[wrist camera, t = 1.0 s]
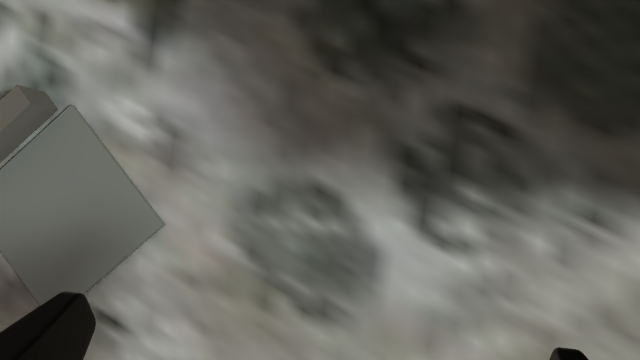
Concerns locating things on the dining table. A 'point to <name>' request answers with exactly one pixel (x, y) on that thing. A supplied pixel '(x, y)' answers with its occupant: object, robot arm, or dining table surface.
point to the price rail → (64, 200)
